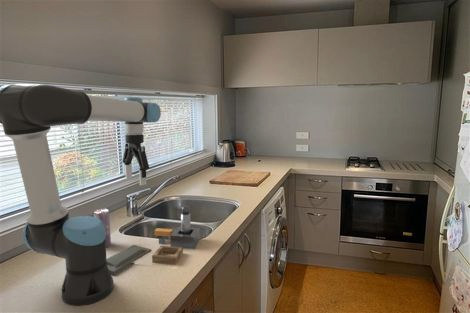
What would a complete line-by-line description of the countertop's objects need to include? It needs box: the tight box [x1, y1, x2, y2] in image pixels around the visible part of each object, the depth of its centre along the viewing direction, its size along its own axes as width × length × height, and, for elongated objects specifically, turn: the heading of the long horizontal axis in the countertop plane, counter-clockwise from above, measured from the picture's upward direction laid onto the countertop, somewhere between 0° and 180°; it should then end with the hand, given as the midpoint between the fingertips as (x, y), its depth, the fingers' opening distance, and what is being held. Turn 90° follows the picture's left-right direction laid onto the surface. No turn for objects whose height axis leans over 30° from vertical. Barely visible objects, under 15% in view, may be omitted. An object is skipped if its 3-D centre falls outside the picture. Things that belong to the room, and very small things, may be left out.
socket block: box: [158, 226, 201, 250], centre depth 139 cm, size 10×16×6 cm, turn 82°
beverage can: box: [93, 208, 112, 248], centre depth 136 cm, size 6×6×15 cm
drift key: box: [154, 227, 174, 237], centre depth 139 cm, size 3×7×2 cm, turn 82°
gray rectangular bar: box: [180, 205, 191, 235], centre depth 137 cm, size 4×4×16 cm
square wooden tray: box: [151, 245, 184, 265], centre depth 125 cm, size 9×9×4 cm
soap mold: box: [106, 244, 152, 277], centre depth 124 cm, size 10×20×4 cm, turn 154°
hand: (135, 181), depth 144 cm, fingers open, 13 cm apart
